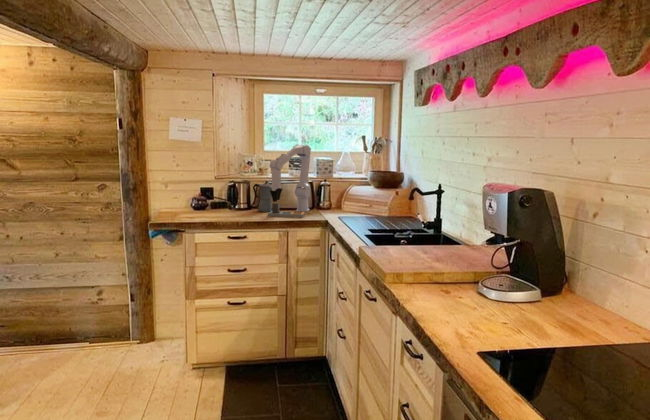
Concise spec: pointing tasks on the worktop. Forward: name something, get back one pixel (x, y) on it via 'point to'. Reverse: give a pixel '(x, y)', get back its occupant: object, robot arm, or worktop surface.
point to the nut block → (275, 207)
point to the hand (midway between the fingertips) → (276, 200)
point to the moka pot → (264, 197)
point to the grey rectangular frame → (287, 214)
